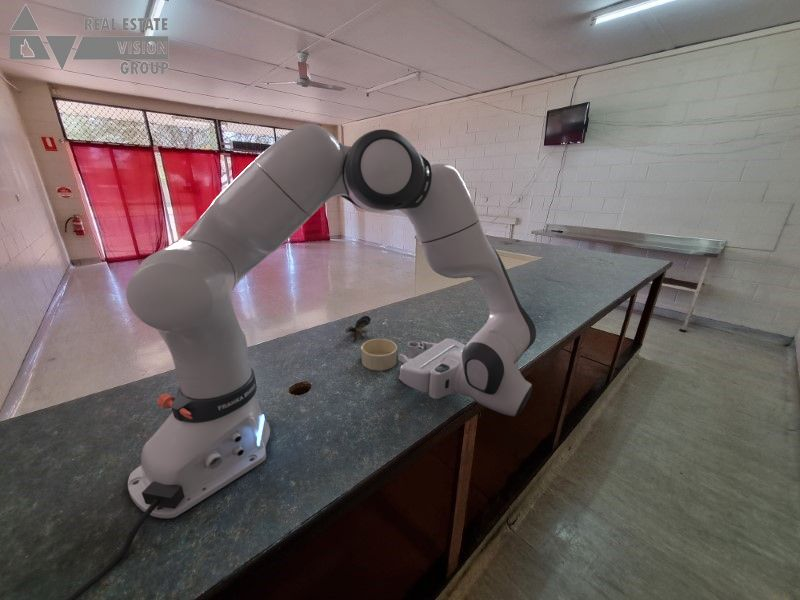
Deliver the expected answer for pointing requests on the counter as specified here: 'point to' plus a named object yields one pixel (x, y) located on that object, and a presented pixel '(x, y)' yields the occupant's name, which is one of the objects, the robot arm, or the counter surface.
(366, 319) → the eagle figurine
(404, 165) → the robot arm
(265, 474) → the counter surface
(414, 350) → the flask
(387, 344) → the beige round bowl
